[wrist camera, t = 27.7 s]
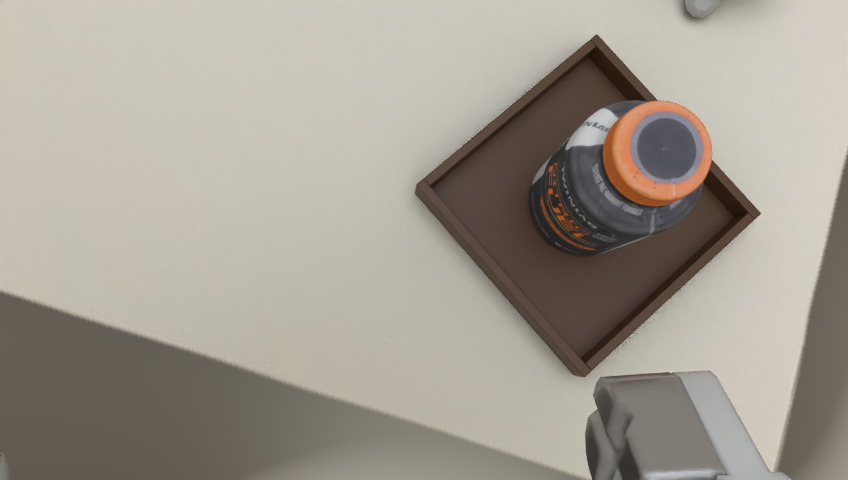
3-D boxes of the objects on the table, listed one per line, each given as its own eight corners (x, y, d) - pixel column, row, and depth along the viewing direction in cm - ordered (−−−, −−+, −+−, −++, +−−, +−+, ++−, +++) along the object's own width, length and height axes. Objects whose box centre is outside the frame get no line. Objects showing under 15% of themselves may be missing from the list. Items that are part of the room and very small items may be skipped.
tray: (574, 375, 37) (584, 377, 35) (414, 192, 38) (416, 184, 36) (742, 219, 39) (761, 213, 37) (586, 49, 40) (597, 33, 38)
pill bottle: (505, 188, 38) (557, 124, 27) (592, 130, 39) (678, 44, 27) (569, 279, 37) (650, 253, 26) (656, 218, 38) (770, 168, 27)
